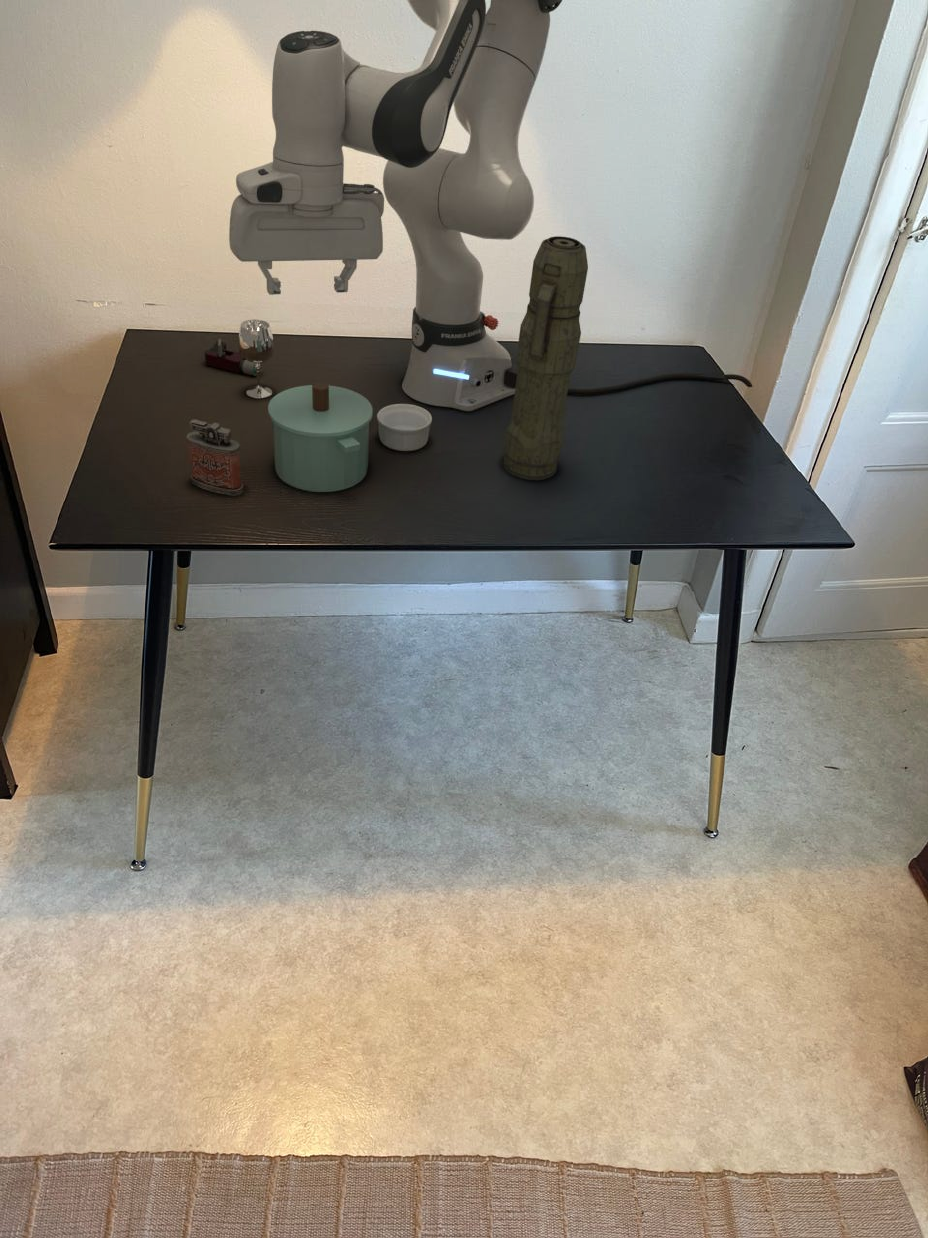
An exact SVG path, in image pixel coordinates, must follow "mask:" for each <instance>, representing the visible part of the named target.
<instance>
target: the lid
mask: <svg viewBox="0 0 928 1238" xmlns="http://www.w3.org/2000/svg"><path fill="white" fill-rule="evenodd" d="M267 413H268V416H269V419H270V420H271V421H272V423H273V422H274V423H275V424H276V425H278V426H279V427H281V428H283V429H285V430H287V431H290V432H293V433H296V434H301V435H306V436H315V437H332V436H340V435H345V434H349V433H352V432H355V431H357V430H359V429H362V428H363V427H365V426H366V425H367V424H368V423H369V424H370V422H371V420H372V419H373V413H374V409H373V406H372V403H371V402H370V401H369V400H368V399H367V398H366V397H365V396H363V395H362V394H360V393H358V392H356V391H355V390H351V389H348V388H345V387H340V386H337V385H336V386H335V385H329V384H328V383H326V382H321V381H320V382H314V383H313V384H308V385H307V384H306V385H300V386H295V387H291V388H288V389H285V390H283V391H281V392H279V393H277V394H276V395H275V396H273V397H272V398H271V399H270V400H269V402H268V406H267Z"/></svg>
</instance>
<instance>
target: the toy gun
mask: <svg viewBox="0 0 928 1238" xmlns="http://www.w3.org/2000/svg"><path fill="white" fill-rule="evenodd" d="M203 354H204V361H205V362H204V363H205V365H206V366H210V367H213V368H218V369H222V370H226V371H228V372H233V373H237V374H240V373H243V374H245V375H249V376H253V377H257V374H256V371H255V364H256V363H252V362H249V361H247V360H246V359H245V358H244V357H243V356H242V355H241V353H240V350H239V351H238V352H237V351H234V350H230V349H227V344H226V342H222V339H221V338H218V340H217V341H216V342H215V343H214V344H213V346H212V347H211V348H209V349H207V350H204V353H203ZM261 371H262V369H261V370H260V372H261Z"/></svg>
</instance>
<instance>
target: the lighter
mask: <svg viewBox="0 0 928 1238" xmlns="http://www.w3.org/2000/svg"><path fill="white" fill-rule="evenodd" d="M189 428H190V429H189V430H190V431H191V432H189V433H187V435H186V443H187V444H188V450H189V458H190V459H189V460H190V467H191V478H190V479H191V483H192V485H194V486H196V487H199V488H201V489H204V490H206V491H209V492H211V493H212V492H214V493H216V494H221V495H228V496H238V495H241V494H242V493H243V492H244V484H243V482H242V473H241V472H242V471H241V461H240V459H241V458H240V452H241V444H240V442H238V441H237V440H233V439H231V437H232V433H231V429H229V428H226V427H222V426H221V424H220V423H219V422H213V423H208V422H206V421H203V420H198V419H192V420H191V421H190V422H189Z"/></svg>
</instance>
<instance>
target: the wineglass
mask: <svg viewBox="0 0 928 1238" xmlns="http://www.w3.org/2000/svg"><path fill="white" fill-rule="evenodd" d="M238 349H239V351H240V353H241V355H242V356H243V357H244V358H245V359H246V360H247V361H249V362H252V363H256V364H255V371H256V374H257V376H256V385H255V386H250V387H249V388H247V389H246V390H245V393H246V396H248V397H250V398H253V399H266V398H269V397H271V396H272V395H273V390H272V389H271V388H270V387H267V386H265V385H264V386H262V384H261V375H260V374H261V371H260V370H262V369H261V368H262V365H261V364H262V363H266V362H267V361H269V360H270V359H271V357H272V356H273V354H274V351H275V341H274V335H273V332H272V329H271V326H270V324H269V322H268V321H265V320H262V319H247V320H244V321H242V322H241V323H240V327H239V332H238Z"/></svg>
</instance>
